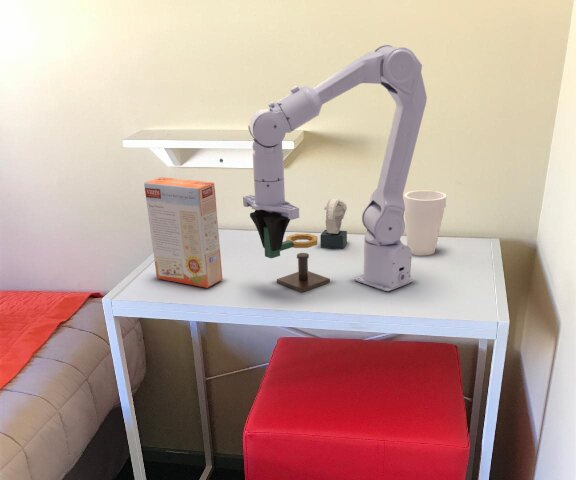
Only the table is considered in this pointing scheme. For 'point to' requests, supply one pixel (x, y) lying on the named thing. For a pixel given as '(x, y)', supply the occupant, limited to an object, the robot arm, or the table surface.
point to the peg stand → (303, 276)
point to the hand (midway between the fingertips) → (272, 248)
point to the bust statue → (334, 225)
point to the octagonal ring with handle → (288, 243)
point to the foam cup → (423, 220)
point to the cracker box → (184, 231)
